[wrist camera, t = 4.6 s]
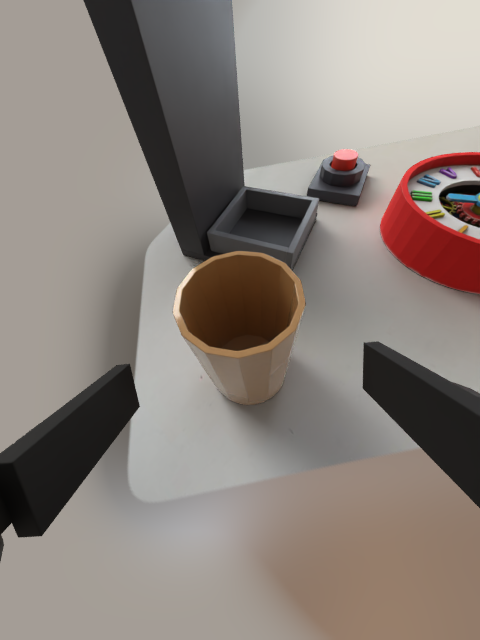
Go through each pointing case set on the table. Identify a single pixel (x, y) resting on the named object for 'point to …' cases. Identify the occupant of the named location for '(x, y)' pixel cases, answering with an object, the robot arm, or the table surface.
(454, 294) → the table surface
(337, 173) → the switch block
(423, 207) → the toy clock
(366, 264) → the table surface
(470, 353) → the table surface
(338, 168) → the button
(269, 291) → the cup
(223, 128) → the coffee maker
